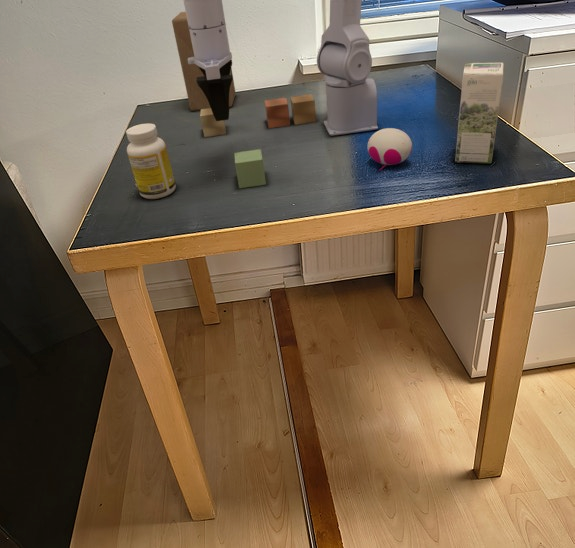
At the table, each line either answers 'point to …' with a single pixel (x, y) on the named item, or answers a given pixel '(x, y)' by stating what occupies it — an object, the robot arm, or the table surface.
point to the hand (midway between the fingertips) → (222, 112)
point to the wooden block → (192, 66)
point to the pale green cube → (250, 168)
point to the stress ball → (389, 146)
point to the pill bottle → (150, 162)
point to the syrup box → (479, 112)
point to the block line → (268, 114)
